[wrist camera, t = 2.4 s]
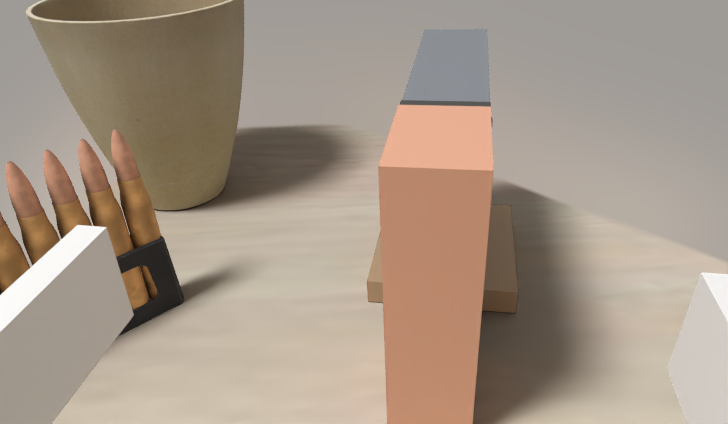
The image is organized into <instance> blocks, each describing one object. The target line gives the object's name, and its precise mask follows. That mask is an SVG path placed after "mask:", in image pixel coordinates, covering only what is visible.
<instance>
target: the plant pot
mask: <svg viewBox="0 0 728 424" xmlns="http://www.w3.org/2000/svg"><path fill="white" fill-rule="evenodd" d="M26 14H27V16H28V19H29V21H30V23H31V25H32V27H33V29H34V31H35V33H36V35H37V37H38V40H39V42H40V44H41V45H42V48H43V50H44V52H45V54H46V56H47V58H48V60H49V62H50V64H51V66H52V68H53V70H54V72H55V74H56V76H57V78H58V79H59V81H60V83H61V85H62V87H63V89H64V91H65V93H66V94H67V96H68V98H69V99H70V101H71V103H72V105H73V106H74V108H75V110H76V112H77V113H78V115H79V116H80V118H81V120H82V121H83V123H84V125H85V126H86V128H87V129H88V131H89V132H90V134H91V136H92V137H93V139H94V140H95V142H96V143H97V145H98V146H99V148H100V149H101V151H102V152H103V154H104V155H105V156H106V158H107V159H108V161H109V162H110V164H111V165H112V166H113V168H114V164H113V158H112V150H111V137H112V132H113V130H114V129H117V130H118V131H119V132H120V133H121V134H122V135H123V137H124V138H125V140H126V142H127V143H128V145H129V147H130V149H131V151H132V153H133V156H134V158H135V160H136V163H137V167H138V170H139V173H140V175H141V177H142V180H143V183H144V186H145V188H146V190H147V192H148V194H149V196H150V198H151V201H152V205H153V208H154V209H158V210H180V209H186V208H191V207H194V206H198V205H201V204H203V203H206V202H208V201H210V200H212V199H213V198H215V197H216V196H218V195H219V194H220V193H221V192H222V190H223V189H224V187H225V184H226V180H227V176H228V172H229V167H230V163H231V158H232V153H233V148H234V142H235V136H236V130H237V124H238V116H239V108H240V99H241V89H242V75H243V57H244V0H42V1H39V2H37V3H36V4H33V5H32V6H30V7H29V8H28V9H27V10H26ZM114 169H115V168H114Z"/></svg>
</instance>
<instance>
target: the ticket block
mask: <svg viewBox="0 0 728 424" xmlns="http://www.w3.org/2000/svg"><path fill="white" fill-rule="evenodd" d="M400 105H438V106H487V107H491V104H490V90H489V65H488V38H487V29H484V30H482V29H481V30H478V29H474V30H424V33H423V37H422V40H421V43H420V46H419V49H418V52H417V55H416V59H415V62H414V65H413V68H412V71H411V74H410V77H409V81H408V84H407V87H406V90H405V93H404V97H403V99H402V100H401V102H400ZM491 124H492V117H491ZM367 289H368V301H369V302H382V303H383V283H382V254H381V231H380V234H379V238H378V242H377V246H376V250H375V253H374V257H373V261H372V265H371V268H370V272H369V276H368V280H367ZM517 298H518V284H517V273H516V261H515V250H514V238H513V226H512V215H511V205H497V204H491V207H490V219H489V231H488V243H487V255H486V267H485V279H484V291H483V304H482V310H484V311H497V312H509V313H516V306H517Z"/></svg>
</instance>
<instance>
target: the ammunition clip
mask: <svg viewBox="0 0 728 424" xmlns="http://www.w3.org/2000/svg"><path fill="white" fill-rule="evenodd" d="M111 150H112V158H113V164H114V168H115V172H116V175H117V181H118V185H119V189H120V200H121V206H122V209H123V212H124V216H125V219H126V222H127V226H128V229H129V232H130V235H129V232H128V229H127V226H126V222H125V219H124V216H123V213H122V210H121V208H120V206H119V204H118V202H117V200H116V199H115V197H114V195H113V192H112V189H111V186H110V184H109V183H108V180H107V177H106V174H105V171H104V169H103V167H102V165H101V162H100V160H99V158H98V157H97V155H96V153H95V152H94V151H93V149H92V147H91V146H90V145H89V144H88V143H87V141H85V140H84V139H81V140H80V142H79V149H78V155H79V165H80V171H81V175H82V179H83V182H84V185H85V188H86V194H87V197H88V201H89V209H90V216H91V219H92V222H93V225H94V226H99V227H107V230H108V233H109V236H110V240H111V243H112V246H113V249H114V253H115V256H116V259H117V262H118V265H119V269H120V272H121V275H122V278H123V282H124V285H125V288H126V291H127V294H128V298H129V301H130V304H131V307H132V311H133V314H134V316H133V317H132V318H131V320H130V321H129V322H128V324H127V325H126V326H125V328H124V329H123V330H122V331H121V333H120V334H119V335H121V334H123V333H125V332H127V331H129V330H131V329H133V328H135V327H137V326H139V325H141V324H143V323H145V322H147V321H149V320H151V319H152V318H154V317H156V316H158V315H160V314H162V313H164V312H166V311H168V310H170V309H172V308H174V307H176V306H178V305H180V304H182V303H183V301H184V296H183V293H182V290H181V287H180V284H179V281H178V279H177V276H176V273H175V270H174V267H173V264H172V261H171V258H170V255H169V252H168V249H167V246H166V243H165V240H164V238H163V237H162V236H161V233H160V230H159V226H158V222H157V219H156V215H155V212H154V208H153V205H152V201H151V198H150V196H149V194H148V192H147V190H146V188H145V186H144V183H143V180H142V177H141V175H140V173H139V170H138V167H137V163H136V160H135V158H134V156H133V153H132V151H131V149H130V147H129V145H128V143H127V142H126V140H125V138H124V137H123V135H122V134H121V133H120V132H119V131H118V130H117V129H114V130H113V132H112V137H111ZM43 165H44V174H45V179H46V184H47V188H48V191H49V194H50V197H51V199H52V204H53V207H54V210H55V213H56V219H57V226H58V230H59V233H60V236H61V238H62V239H63V238H64V237H65V236H66V235H67V234H68V233H69V232H70V231H71V230H72V229H74V228H75V227H76V226H77V225H86V226H92V225H91V222H90V220H89V218H88V216H87V214H86V213H85V211H84V210H83V208H82V206H81V204H80V201H79V199H78V196H77V195H76V193H75V190H74V187H73V185H72V182H71V180H70V179H69V176H68V174H67V172H66V171H65V169H64V167H63V166H62V164H61V163H60V161H59V160H58V158H57V157H56V156H55V155H54V154H53V153H52V152H51V151H50V150H45V152H44V157H43ZM6 181H7V187H8V191H9V195H10V198H11V202H12V205H13V208H14V210H15V212H16V216H17V220H18V222H19V225H20V228H21V232H22V238H23V243H24V246H25V248H26V251H27V253H28V255H29V258H30V260H31V263H32V265H34V264H35V263H36V262H37V261H38V260H39V259H41V258H42V257H43V256H44V255H45V254H46V253H47V252H48V251H49V250H50V249H52V248H53V247H54V246H55V245H56V244H57V243H58V242H59V241H60V240H59V237H58V235H57V232H56V230H55V229H54V227H53V226H52V224H51V223H50V221H49V220H48V218H47V216H46V214H45V211H44V209H43V208H42V206H41V204H40V202H39V199H38V197H37V195H36V193H35V191H34V189H33V187H32V185H31V183H30V182H29V180H28V179H27V178H26V176H25V175H24V173H23V172H22V171H21V170H20V169H19V168H18V166H16V165H15V164H14V163H13V162H11V161H9V162H7V165H6ZM28 269H30V266H29V264H28V262H27V259H26V257H25V255H24V252H23V250H22V248H21V246H20V244H19V243H18V241H17V240H16V239H15V237H14V236H13V235H12V234H11V232H10V230H9V228H8V226H7V224H6V222H5V221H4V219H3V217H2V215H1V213H0V295H1V294H2V293H3V292H4V291H5V290H6V289H7V288H9V287H10V286H11V285H12V284H13V283H14V282H15V281H16V280H17V279H18V278H20V277H21V276H22V275H23V274H24V273H25V272H26V271H27V270H28ZM140 269H141V270H140ZM141 272H142V273H141ZM142 275H143V276H142ZM119 335H118V336H119Z"/></svg>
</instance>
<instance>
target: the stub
mask: <svg viewBox="0 0 728 424" xmlns="http://www.w3.org/2000/svg"><path fill="white" fill-rule="evenodd" d="M378 168H379V197H380V225H381V254H382V283H383V311H384V340H385V369H386V397H387V424H473V412H474V400H475V388H476V376H477V364H478V352H479V340H480V328H481V316H482V304H483V291H484V279H485V267H486V255H487V243H488V231H489V219H490V207H491V195H492V182H493V149H492V124H491V107H487V106H438V105H398V108H397V111H396V114H395V117H394V120H393V123H392V127H391V130H390V132H389V136H388V139H387V142H386V145H385V148H384V151H383V154H382V157H381V160H380V163H379V166H378Z"/></svg>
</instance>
